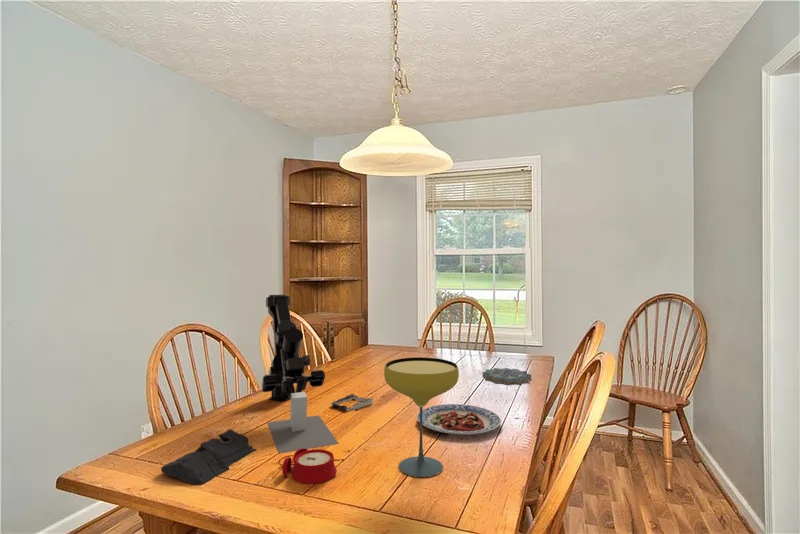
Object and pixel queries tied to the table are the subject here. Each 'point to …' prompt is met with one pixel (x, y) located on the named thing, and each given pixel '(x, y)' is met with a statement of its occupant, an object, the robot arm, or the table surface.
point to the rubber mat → (301, 435)
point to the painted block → (298, 411)
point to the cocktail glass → (421, 398)
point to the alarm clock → (310, 466)
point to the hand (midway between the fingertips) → (297, 405)
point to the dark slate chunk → (210, 458)
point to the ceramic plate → (459, 419)
